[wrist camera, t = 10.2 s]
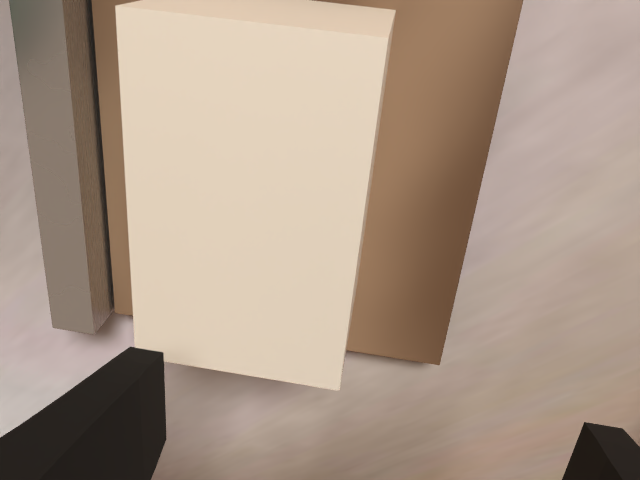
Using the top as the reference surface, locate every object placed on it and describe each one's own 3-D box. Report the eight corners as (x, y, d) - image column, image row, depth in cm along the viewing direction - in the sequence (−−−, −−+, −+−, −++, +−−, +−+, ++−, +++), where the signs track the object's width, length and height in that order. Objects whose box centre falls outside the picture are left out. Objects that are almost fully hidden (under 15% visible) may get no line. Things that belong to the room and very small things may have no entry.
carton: (356, 283, 19) (339, 391, 14) (199, 259, 19) (133, 356, 15) (396, 9, 15) (388, 37, 11) (199, -13, 15) (113, 5, 11)
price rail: (100, -130, 16) (48, -142, 13) (127, 293, 21) (94, 334, 19) (42, -135, 16) (-20, -148, 14) (84, 287, 22) (46, 326, 19)
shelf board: (534, -87, 15) (543, -90, 14) (438, 343, 21) (439, 365, 19) (103, -130, 16) (81, -135, 15) (129, 294, 21) (114, 312, 20)
